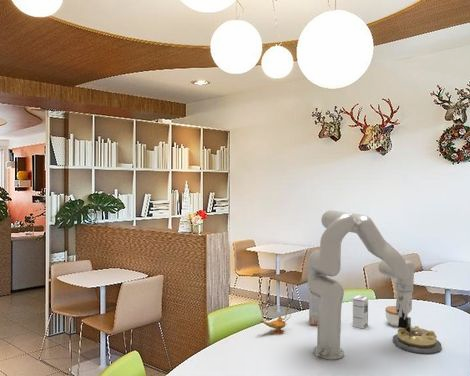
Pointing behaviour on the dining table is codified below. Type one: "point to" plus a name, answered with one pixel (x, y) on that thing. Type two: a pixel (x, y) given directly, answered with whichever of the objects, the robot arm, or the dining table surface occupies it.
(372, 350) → the dining table surface
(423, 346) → the gold dish
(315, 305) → the cracker box
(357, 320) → the syrup box
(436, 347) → the base
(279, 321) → the magic lamp
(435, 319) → the dining table surface
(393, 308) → the lidded jar
